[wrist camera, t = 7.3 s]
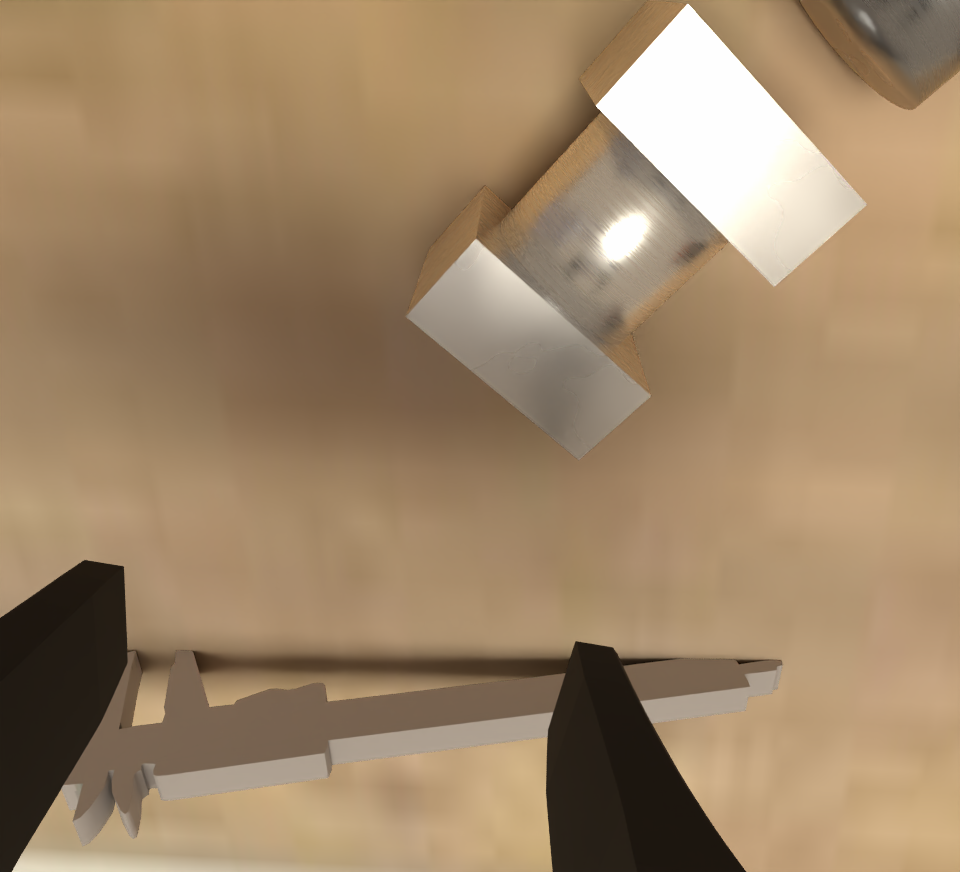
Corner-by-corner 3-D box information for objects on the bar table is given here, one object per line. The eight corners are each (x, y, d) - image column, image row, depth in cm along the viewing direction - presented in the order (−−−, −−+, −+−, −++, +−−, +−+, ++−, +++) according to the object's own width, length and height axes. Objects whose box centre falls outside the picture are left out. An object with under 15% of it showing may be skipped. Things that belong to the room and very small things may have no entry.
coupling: (567, 369, 21) (578, 460, 17) (429, 248, 20) (405, 316, 15) (789, 156, 18) (867, 204, 14) (647, 0, 17) (688, 3, 13)
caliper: (131, 667, 27) (29, 847, 21) (123, 642, 26) (16, 819, 21) (774, 677, 26) (844, 869, 20) (779, 652, 25) (853, 841, 20)
